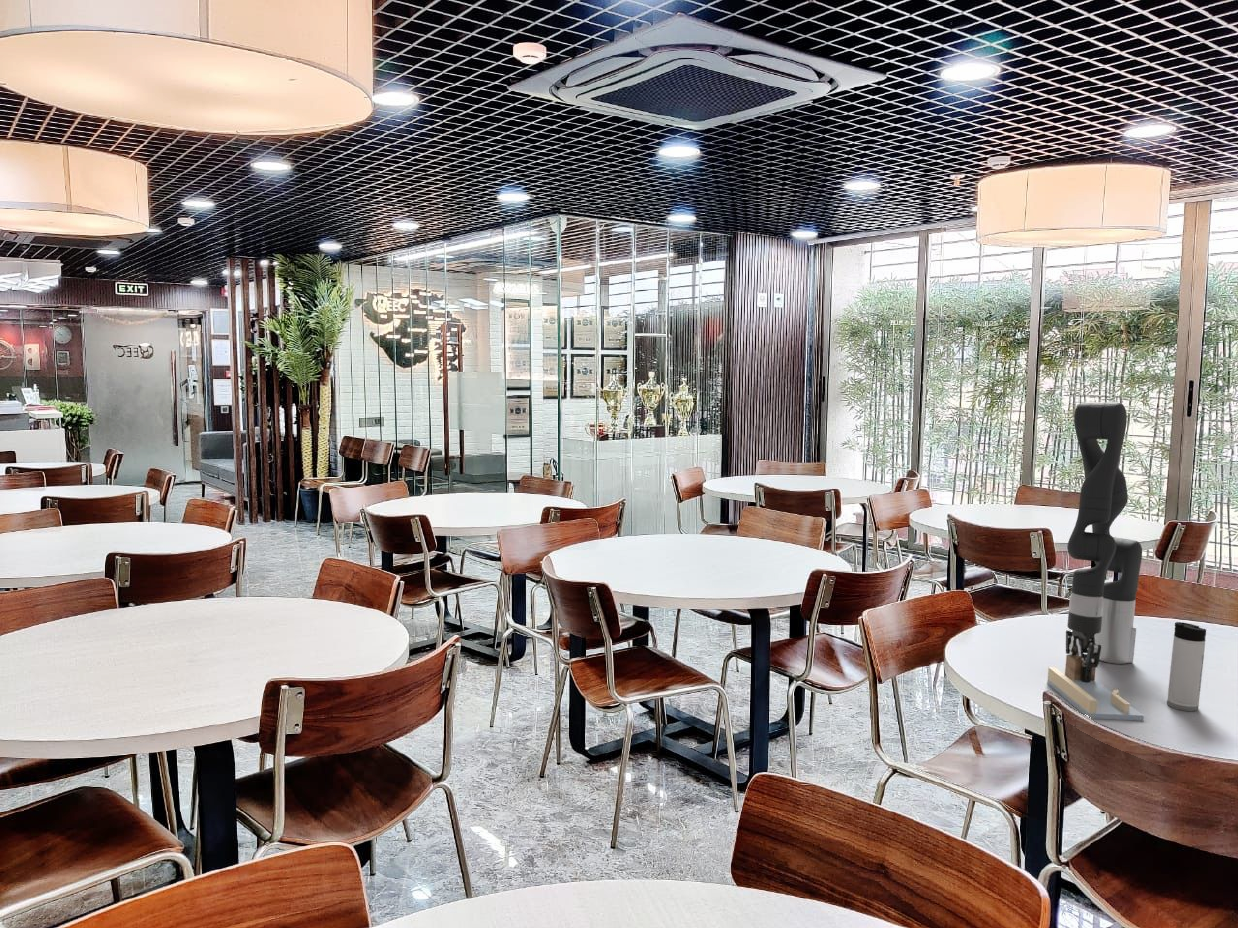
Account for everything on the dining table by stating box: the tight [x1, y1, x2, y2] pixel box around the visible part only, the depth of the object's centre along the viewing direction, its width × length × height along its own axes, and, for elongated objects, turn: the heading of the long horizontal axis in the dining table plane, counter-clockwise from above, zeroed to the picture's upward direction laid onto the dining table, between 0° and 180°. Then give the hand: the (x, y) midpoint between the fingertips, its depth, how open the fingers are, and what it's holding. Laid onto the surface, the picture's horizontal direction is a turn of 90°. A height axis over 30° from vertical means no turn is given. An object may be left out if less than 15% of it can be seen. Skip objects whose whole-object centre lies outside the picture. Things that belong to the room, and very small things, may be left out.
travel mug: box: [1166, 621, 1207, 712], centre depth 210 cm, size 6×7×20 cm
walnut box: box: [1064, 654, 1097, 681], centre depth 226 cm, size 5×5×7 cm
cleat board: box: [1046, 666, 1145, 722], centre depth 213 cm, size 12×22×4 cm, turn 177°
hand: (1079, 677), depth 226 cm, fingers open, 5 cm apart
